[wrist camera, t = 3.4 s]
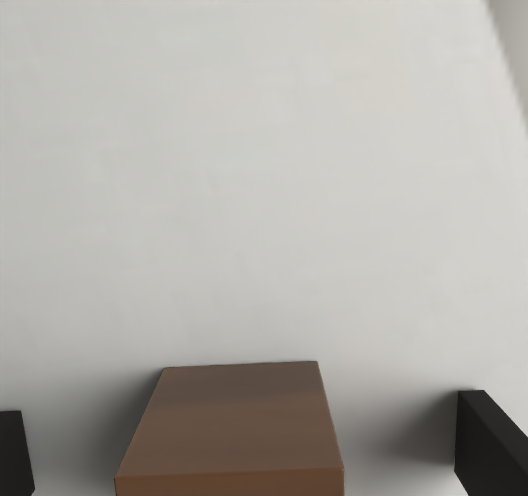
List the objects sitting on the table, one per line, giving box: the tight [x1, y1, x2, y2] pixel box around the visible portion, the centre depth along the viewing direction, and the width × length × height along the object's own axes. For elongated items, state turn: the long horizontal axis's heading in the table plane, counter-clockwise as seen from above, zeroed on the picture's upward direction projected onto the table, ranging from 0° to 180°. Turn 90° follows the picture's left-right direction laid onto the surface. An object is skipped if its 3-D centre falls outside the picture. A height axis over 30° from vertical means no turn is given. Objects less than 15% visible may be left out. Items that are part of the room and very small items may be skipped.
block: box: [114, 361, 345, 496], centre depth 11 cm, size 4×4×4 cm
